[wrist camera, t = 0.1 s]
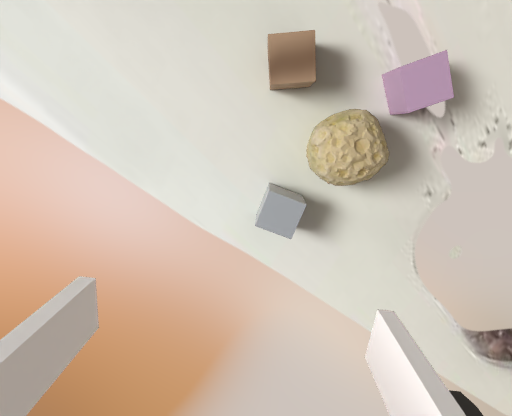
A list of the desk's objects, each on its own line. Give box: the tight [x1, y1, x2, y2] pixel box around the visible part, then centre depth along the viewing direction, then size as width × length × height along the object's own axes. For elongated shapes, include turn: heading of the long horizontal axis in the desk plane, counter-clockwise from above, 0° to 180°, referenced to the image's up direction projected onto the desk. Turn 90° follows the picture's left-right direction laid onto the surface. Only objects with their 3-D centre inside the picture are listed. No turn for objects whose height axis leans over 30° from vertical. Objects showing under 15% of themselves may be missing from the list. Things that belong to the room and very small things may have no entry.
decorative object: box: [307, 109, 389, 186], centre depth 35 cm, size 9×10×10 cm
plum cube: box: [382, 50, 454, 115], centre depth 33 cm, size 5×5×5 cm
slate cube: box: [255, 183, 307, 239], centre depth 38 cm, size 5×5×5 cm
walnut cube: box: [268, 30, 316, 90], centre depth 33 cm, size 5×5×5 cm
